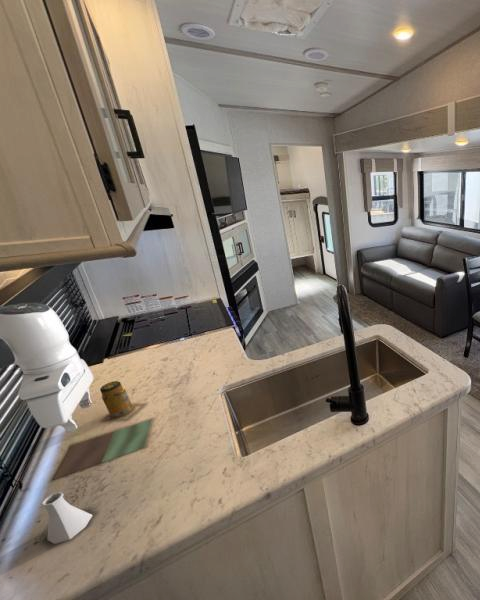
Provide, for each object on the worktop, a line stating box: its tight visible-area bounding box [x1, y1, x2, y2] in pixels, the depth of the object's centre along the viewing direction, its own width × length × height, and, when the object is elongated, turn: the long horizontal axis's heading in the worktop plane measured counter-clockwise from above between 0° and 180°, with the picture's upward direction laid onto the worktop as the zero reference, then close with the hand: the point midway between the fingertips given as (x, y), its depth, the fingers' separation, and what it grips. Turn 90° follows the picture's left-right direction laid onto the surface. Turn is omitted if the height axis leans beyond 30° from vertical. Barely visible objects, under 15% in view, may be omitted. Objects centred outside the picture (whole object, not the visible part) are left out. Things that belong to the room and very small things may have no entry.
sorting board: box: [53, 419, 152, 481], centre depth 94 cm, size 20×14×1 cm
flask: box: [40, 491, 93, 545], centre depth 70 cm, size 7×7×10 cm
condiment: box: [99, 380, 134, 419], centre depth 106 cm, size 7×8×12 cm
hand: (80, 417), depth 76 cm, fingers open, 8 cm apart
